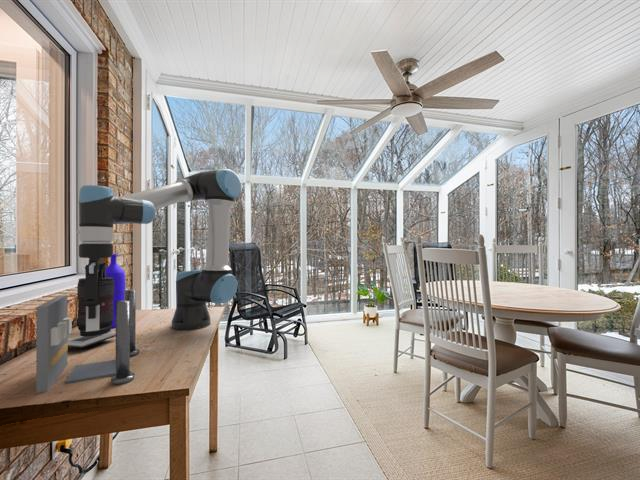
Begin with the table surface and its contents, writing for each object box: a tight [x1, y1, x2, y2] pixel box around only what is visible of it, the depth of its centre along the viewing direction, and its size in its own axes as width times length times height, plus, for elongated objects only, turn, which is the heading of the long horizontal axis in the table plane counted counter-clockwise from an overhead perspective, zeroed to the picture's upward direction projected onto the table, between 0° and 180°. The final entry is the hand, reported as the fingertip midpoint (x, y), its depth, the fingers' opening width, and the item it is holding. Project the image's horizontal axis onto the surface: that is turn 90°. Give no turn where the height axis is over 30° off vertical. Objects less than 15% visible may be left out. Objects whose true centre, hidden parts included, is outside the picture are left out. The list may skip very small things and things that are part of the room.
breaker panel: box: [35, 294, 73, 394], centre depth 78 cm, size 3×17×20 cm, turn 28°
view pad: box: [64, 359, 116, 385], centre depth 82 cm, size 11×11×1 cm
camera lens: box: [76, 277, 114, 337], centre depth 82 cm, size 8×8×15 cm
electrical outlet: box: [67, 332, 116, 350], centre depth 103 cm, size 13×10×2 cm
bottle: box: [105, 253, 126, 329], centre depth 127 cm, size 8×8×30 cm
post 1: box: [110, 300, 135, 386], centre depth 77 cm, size 5×5×20 cm
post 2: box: [124, 289, 140, 358], centre depth 94 cm, size 5×5×20 cm
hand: (95, 326), depth 82 cm, fingers closed on camera lens, 8 cm apart
